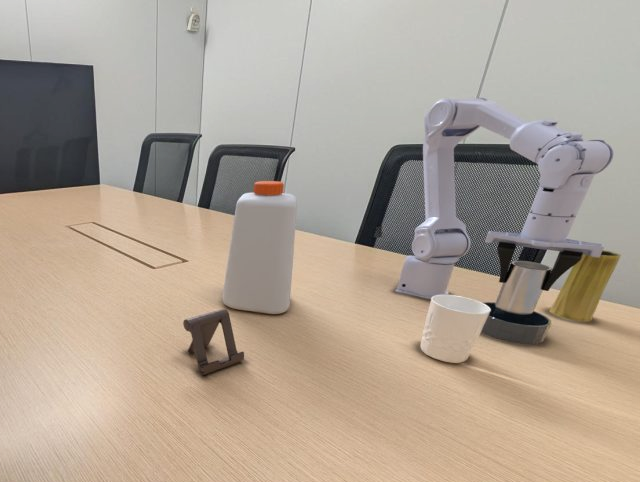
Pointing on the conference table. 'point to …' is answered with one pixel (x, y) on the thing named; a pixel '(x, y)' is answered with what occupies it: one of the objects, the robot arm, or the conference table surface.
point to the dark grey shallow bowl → (516, 326)
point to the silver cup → (522, 287)
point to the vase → (585, 286)
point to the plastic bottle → (261, 250)
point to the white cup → (453, 327)
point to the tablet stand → (203, 333)
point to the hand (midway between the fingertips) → (522, 285)
